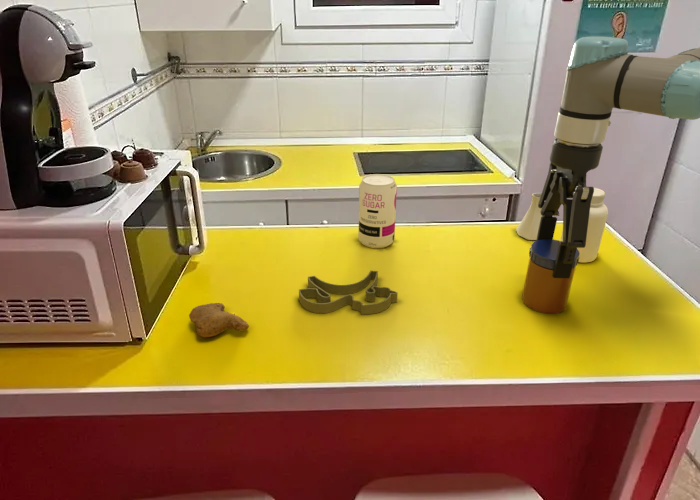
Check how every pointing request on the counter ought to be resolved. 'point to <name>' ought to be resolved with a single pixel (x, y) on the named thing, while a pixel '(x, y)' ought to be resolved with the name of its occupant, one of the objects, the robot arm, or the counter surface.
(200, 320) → the brown irregular lump
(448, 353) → the counter surface
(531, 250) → the jam lid
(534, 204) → the flask
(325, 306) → the cookie cutter
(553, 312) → the jam jar
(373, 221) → the supplement can
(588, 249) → the pill bottle
